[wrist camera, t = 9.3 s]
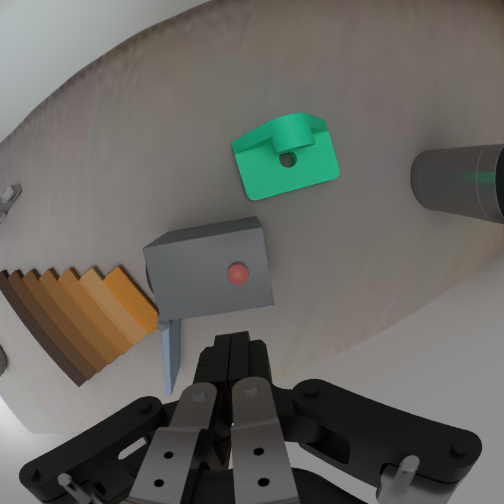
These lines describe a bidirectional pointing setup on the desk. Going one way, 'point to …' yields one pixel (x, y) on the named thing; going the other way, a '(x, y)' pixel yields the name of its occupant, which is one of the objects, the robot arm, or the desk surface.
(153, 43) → the desk surface
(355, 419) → the robot arm
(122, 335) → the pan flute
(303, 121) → the camera mount
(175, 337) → the door
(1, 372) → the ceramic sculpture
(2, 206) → the grey ringed bracket
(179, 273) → the housing
